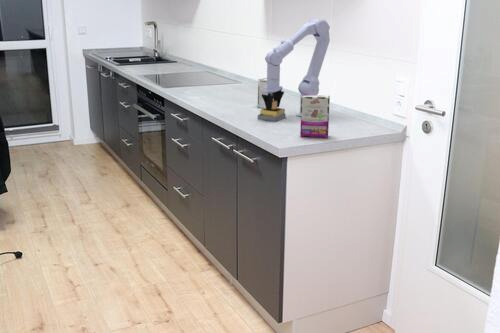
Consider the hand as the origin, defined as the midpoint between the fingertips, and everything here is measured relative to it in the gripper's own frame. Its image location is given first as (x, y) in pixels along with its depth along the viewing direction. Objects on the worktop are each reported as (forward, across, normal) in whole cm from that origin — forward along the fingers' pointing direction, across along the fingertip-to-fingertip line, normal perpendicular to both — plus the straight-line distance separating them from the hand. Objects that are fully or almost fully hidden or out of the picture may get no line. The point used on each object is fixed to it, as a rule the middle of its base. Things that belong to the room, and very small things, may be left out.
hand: (272, 108), depth 257 cm
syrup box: (+5, -20, -15) cm, 26 cm away
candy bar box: (+5, +20, +30) cm, 36 cm away
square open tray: (+5, +1, 0) cm, 5 cm away
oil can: (+3, 0, 0) cm, 3 cm away
